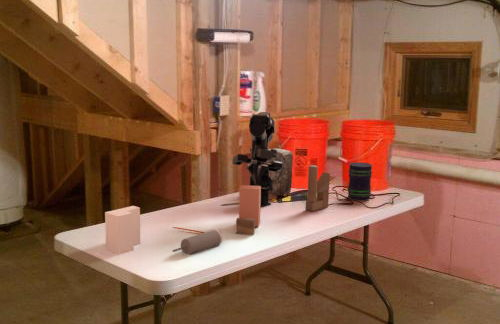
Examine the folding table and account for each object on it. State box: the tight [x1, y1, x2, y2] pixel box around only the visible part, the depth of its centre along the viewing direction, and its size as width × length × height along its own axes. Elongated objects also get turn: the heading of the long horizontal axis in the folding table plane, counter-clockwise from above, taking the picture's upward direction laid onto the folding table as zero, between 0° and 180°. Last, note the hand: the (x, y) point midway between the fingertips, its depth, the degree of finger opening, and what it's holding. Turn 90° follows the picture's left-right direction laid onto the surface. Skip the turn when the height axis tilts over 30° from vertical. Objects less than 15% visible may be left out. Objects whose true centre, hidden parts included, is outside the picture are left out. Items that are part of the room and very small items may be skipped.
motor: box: [172, 226, 223, 255], centre depth 175 cm, size 23×22×5 cm
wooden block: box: [305, 165, 331, 212], centre depth 217 cm, size 4×11×18 cm, turn 135°
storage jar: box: [347, 161, 373, 202], centre depth 236 cm, size 10×10×15 cm
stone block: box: [267, 148, 294, 196], centre depth 241 cm, size 13×7×20 cm, turn 40°
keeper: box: [238, 184, 262, 228], centre depth 194 cm, size 5×7×14 cm
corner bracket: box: [104, 205, 141, 255], centre depth 170 cm, size 11×11×12 cm
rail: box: [235, 217, 256, 236], centre depth 193 cm, size 20×6×5 cm, turn 171°
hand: (256, 184), depth 203 cm, fingers closed
